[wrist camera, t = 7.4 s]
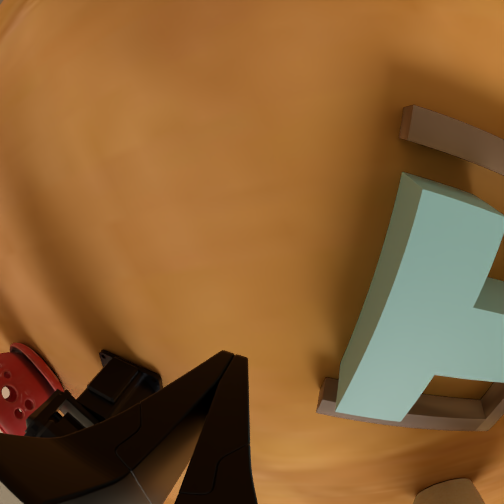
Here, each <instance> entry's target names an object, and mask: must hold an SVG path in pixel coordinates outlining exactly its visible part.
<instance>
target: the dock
mask: <svg viewBox="0 0 504 504" xmlns="http://www.w3.org/2000/svg"><path fill="white" fill-rule="evenodd" d="M399 138H400V139H404V140H407V141H411V142H414V143H417V144H421V145H424V146H427V147H430V148H433V149H436V150H439V151H442V152H445V153H448V154H451V155H453V156H456V157H459V158H462V159H464V160H467V161H470V162H472V163H475V164H477V165H480V166H482V167H485V168H487V169H490V170H492V171H494V172H497V173H499V174H501V175H504V140H503V139H501V138H499V137H497V136H495V135H492V134H490V133H488V132H486V131H483V130H481V129H479V128H476V127H474V126H472V125H469V124H467V123H464V122H462V121H459V120H456V119H454V118H451V117H448V116H446V115H443V114H440V113H437V112H434V111H431V110H428V109H425V108H422V107H419V106H416V105H411V106H407V107H404V110H403V116H402V122H401V128H400V134H399ZM338 382H339V380H337V379H332V378H327V377H326V378H325V380H324V383H323V385H322V387H321V390H320V393H319V399H318V405H317V410H316V413H319V414H324V415H329V416H334V417H339V418H345V419H351V420H356V421H363V422H369V423H376V424H383V425H391V426H400V427H409V428H420V429H433V430H451V431H488V430H489V429H490V428H491V427H492V426H493V425H494V424H495V423H496V422H497V421H498V420H499V419H500V418H501V416H502V415H503V414H504V383H501V382H494V383H493V385H492V386H491V387H490V388H489V390H488V391H487V392H486V394H485V395H484V396H483V397H482V399H481V400H476V399H463V398H452V397H442V396H433V395H425V394H421V395H420V397H419V398H418V399H417V401H416V402H415V404H414V405H413V406H412V408H411V409H410V410H409V412H408V413H407V414H406V415H405V417H404V418H403V419H402V421H401V422H397V421H389V420H382V419H375V418H368V417H362V416H356V415H350V414H345V413H339V412H335V407H336V399H337V391H338Z"/></svg>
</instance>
